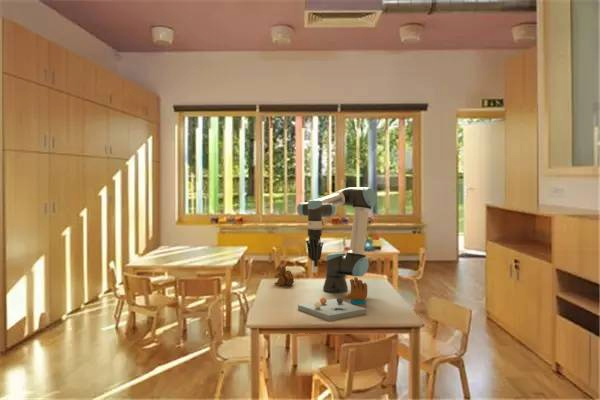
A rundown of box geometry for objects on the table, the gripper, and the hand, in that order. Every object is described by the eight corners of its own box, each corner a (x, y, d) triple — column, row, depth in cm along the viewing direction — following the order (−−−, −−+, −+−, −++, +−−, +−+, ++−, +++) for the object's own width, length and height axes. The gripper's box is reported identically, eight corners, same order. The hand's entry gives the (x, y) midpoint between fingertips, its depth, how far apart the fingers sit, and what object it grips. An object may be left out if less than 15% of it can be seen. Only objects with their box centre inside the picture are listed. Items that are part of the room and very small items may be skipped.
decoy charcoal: (335, 303, 264) (335, 296, 264) (340, 302, 266) (340, 295, 266) (339, 304, 261) (339, 297, 261) (344, 303, 263) (344, 297, 263)
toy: (343, 304, 273) (344, 276, 272) (347, 301, 280) (347, 274, 279) (365, 305, 269) (365, 278, 269) (368, 303, 276) (368, 276, 275)
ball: (318, 303, 263) (318, 297, 263) (323, 302, 265) (323, 296, 265) (322, 305, 260) (322, 298, 260) (327, 304, 262) (328, 297, 262)
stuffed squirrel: (280, 282, 333) (281, 262, 332) (298, 284, 325) (298, 264, 324) (271, 284, 325) (271, 264, 324) (289, 287, 317) (289, 266, 316)
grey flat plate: (298, 309, 261) (298, 304, 261) (333, 303, 274) (334, 298, 274) (328, 320, 239) (328, 315, 239) (366, 313, 253) (366, 308, 253)
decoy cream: (313, 308, 253) (313, 301, 253) (318, 307, 255) (318, 300, 255) (317, 309, 251) (317, 302, 250) (322, 308, 253) (322, 301, 252)
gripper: (302, 228, 271) (301, 271, 272) (316, 229, 260) (316, 274, 261) (313, 227, 275) (312, 270, 276) (327, 229, 265) (327, 273, 265)
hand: (314, 272), depth 268 cm, fingers closed
